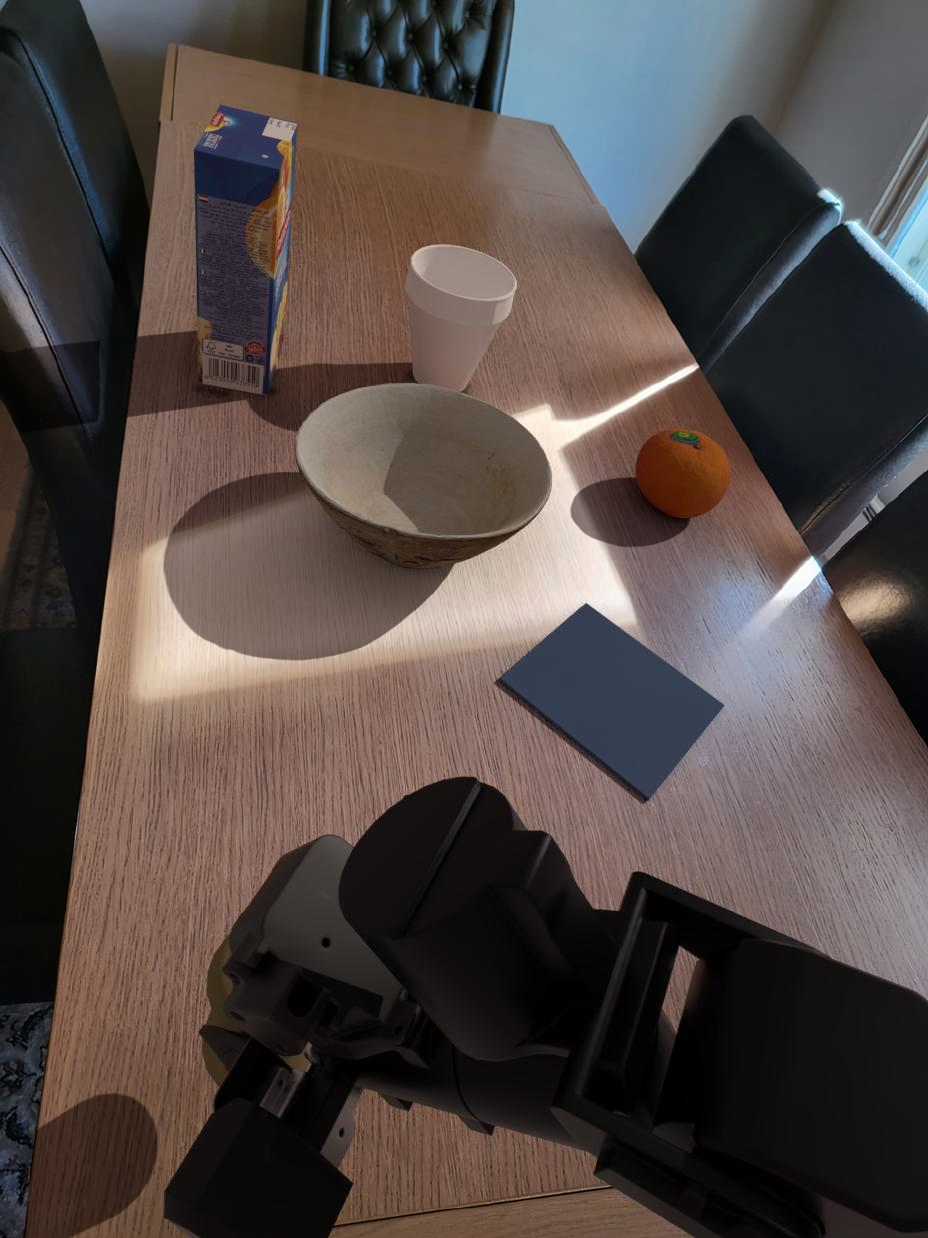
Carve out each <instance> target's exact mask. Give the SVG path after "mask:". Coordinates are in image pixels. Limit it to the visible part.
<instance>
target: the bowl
mask: <svg viewBox="0 0 928 1238" xmlns="http://www.w3.org/2000/svg"><path fill="white" fill-rule="evenodd" d="M293 448H294V449H293V451H294V457H295V462H296V466H297V468H298V471H299V474H300V476H301V478H302V479H303V481H304V483H305V485H306V487H307V488H308V490H309V491H310V493H311V494H312V496H313V497H314V498H315V499H316V500H317V502H318V503H319V504H320V505H321V507H322V508H323V509H324V510H325V512H326V513H327V514H328V515H329V516H330V518H332V519H333V520H334V522H335V523H336V524H337V525H338V526H339V528H341V529H342V530H343V531H344V532H345V533H346V534H347V535H348V536H349V537H351V538H352V539H353V540H354V541H356V542H357V543H358V544H360V545H361V546H362V547H363V548H365V549H366V550H368V551H369V552H371V553H372V554H374V555H376V556H377V557H379V558H381V559H382V560H385V561H387V562H389V563H391V564H393V565H396V566H400V567H405V568H409V569H411V568H412V569H434V568H440V567H442V568H443V567H445V566H451V565H455V564H459V563H462V562H465V561H467V560H470V559H472V558H473V559H474V558H475V557H477V556H479V555H481V554H483V553H486V552H488V551H490V550H492V549H494V548H496V547H498V546H499V545H501V544H503V543H504V542H506V541H508V540H509V539H511V538H512V537H513V536H515V535H517V534H518V533H519V532H521V531H522V530H524V529H525V528H526V527H528V525H529V524H531V523H532V521H534V519H535V518H536V517H538V515H539V514H540V513H541V511H543V509H544V507H545V506H546V504H547V502H548V501H549V499H550V495H551V492H552V488H553V471H552V466H551V465H550V461H549V459H548V457H547V454H546V452H545V449H544V448H543V446H542V445H541V443H540V442H539V440H538V439H537V438H536V436H535V435H533V434H532V432H531V431H530V430H528V428H526V427H525V426H524V425H523V424H522V423H520V421H518V420H517V419H516V418H514V416H512V415H511V414H509V413H507V412H506V411H505V410H503V409H502V408H499V407H497V406H495V405H493V404H491V403H489V402H487V401H484V400H483V399H480V398H479V397H478V398H477V397H475V396H472V395H469V394H466V393H463V392H462V391H461V392H458V391H455V390H451V389H447V388H444V387H440V386H435V385H431V384H424V383H418V382H397V383H392V382H391V383H389V382H386V383H380V384H376V385H368V386H365V387H359V388H355V389H351V390H350V391H346V392H345V391H344V392H342V393H340V394H338V395H336V396H333V397H331V398H329V399H327V400H325V401H323V402H322V403H321V404H319V406H318V407H317V408H316V409H314V410H312V411H311V412H310V414H308V415H307V417H306V418H305V420H304V421H303V422H302V424H301V425H300V427H299V428H298V430H297V432H296V437H295V440H294V447H293Z"/></svg>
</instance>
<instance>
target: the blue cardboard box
mask: <svg viewBox="0 0 928 1238" xmlns="http://www.w3.org/2000/svg"><path fill="white" fill-rule="evenodd" d="M297 139H298V122H296V121H295V122H294V121H290V120H288V119H287V120H286V119H282V118H278V117H273V116H270V115H265V114H261V113H257V112H253V111H249V110H244V109H241V108H236V107H232V106H228V105H224V104H219V106H218V108H217V109H216V111H215V112H214V114H213V116H212V118H211V120H210V121H209V123H208V125H207V126H206V128H205V130H204V131H203V133H202V134H201V137H200V138H199V140H198V142H197V143H196V145H195V146H194V148H193V173H194V175H193V177H194V178H193V179H194V225H195V226H194V227H195V269H196V270H195V271H196V272H195V273H196V319H197V361H198V362H197V367H198V369H197V371H198V384H203V385H208V386H213V387H219V388H223V389H228V390H229V389H230V390H234V391H241V392H246V393H249V394H250V393H251V394H257V395H260V396H261V395H263V396H267V397H268V396H269V393H270V390H271V386H272V383H273V380H274V376H275V372H276V369H277V365H278V361H279V358H280V354H281V352H282V347H283V344H284V340H285V327H286V326H285V325H286V312H287V294H288V279H289V264H290V263H289V262H290V247H291V231H292V217H293V202H294V201H293V200H294V187H295V186H294V185H295V170H296V169H295V168H296V156H297V155H296V154H297Z"/></svg>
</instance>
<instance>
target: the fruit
mask: <svg viewBox="0 0 928 1238" xmlns="http://www.w3.org/2000/svg"><path fill="white" fill-rule="evenodd" d="M731 476H732V473H731V466H730V462H729V458H728V457H727V454H726V452H725V451H724V449H723V448H722V447H721V446H720V445H719V443H717V442H716V441H714V440H713V439H711V438H710V437H709V436H707V435H705V434H703V433H702V432H699V431H696V430H692V429H691V430H690V429H681V428H668V429H664V430H661V431H659V432H657V433H655V434H653V435H652V436H650V437H649V438H648V439H647V440H646V441H645V442H644V443H643V445H642V446H641V447H640V450H639V452H638V454H637V458H636V463H635V478H636V483H637V486H638V488H639V490H640V492H641V493H642V495H643V496H644V497H645V498H646V500H647V501H648V502H649V503H650V504H651V505H653V506H654V507H655V508H657V509H658V510H660V511H662V512H663V513H665V514H667V515H669V516H671V517H673V518H678V519H679V518H680V519H689V518H696V517H700V516H702V515H704V514H706V513H708V512H710V511H711V510H713V509H714V508H716V507H717V506H718V505H719V504H720V503H721V501H722V500H723V499H724V497H725V496H726V494H727V492H728V489H729V486H730V482H731Z"/></svg>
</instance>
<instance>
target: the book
mask: <svg viewBox="0 0 928 1238" xmlns="http://www.w3.org/2000/svg"><path fill="white" fill-rule="evenodd" d="M498 681H499V682H500V683H501V684H502V685H504V686H505V687H506V688H507V689H509V690H510V691H511V692H512V693H513V694H515V695H516V696H518V698H519V699H521V700H522V701H523V702H524V703H526V704H527V705H528V706H529V707H531V708H532V709H533V710H535V711H536V712H537V713H538V714H539V715H541V716H542V717H543V718H544V719H546V720H547V721H548V722H549V723H551V724H552V725H553V726H554V727H556V729H558V730H559V731H560V732H562V733H563V735H565V736H567V738H569V739H570V740H572V741H573V742H574V743H575V744H577V745H578V746H579V747H580V748H582V749H583V750H584V751H585V752H587V754H589V755H590V756H591V757H593V758H594V759H595V760H596V761H597V762H599V763H600V764H601V765H603V767H605V768H606V769H608V770H609V771H610V772H611V773H612V774H614V775H615V776H616V777H617V778H619V779H620V780H621V781H622V782H624V783H625V784H626V785H627V786H629V787H630V788H631V789H632V790H634V791H635V792H636V793H637V794H638V795H640V796H641V797H642V798H643V799H645V800H646V801H647V802H648V801H650V799H651V798H652V797H653V795H655V793H656V792H657V791H658V789H659V788H660V787H661V786H662V784H663V783H664V782H665V781H666V779H668V777H669V776H670V775H671V773H672V772H673V771H674V770H675V768H676V767H678V765H679V763H680V762H681V761H682V760H683V758H684V757H685V756H686V755H687V753H688V752H689V751H690V750H691V748H692V747H693V746H694V745H695V744H696V742H697V741H698V740H699V738H700V737H701V736H702V734H703V733H704V732H705V731H706V729H707V728H708V727H709V725H711V723H712V722H713V721H714V719H715V718H716V717H717V716H718V715H719V713H720V712H721V711H722V709H723V708H724V707H725V704H724V703H723V702H721V701H720V700H719V699H717V698H716V697H715V696H714V695H712V694H711V693H709V692H708V691H707V690H705V689H704V688H702V687H701V686H699V684H697V683H695V682H694V681H693V680H692V679H690V678H689V677H688V676H686V675H685V674H683V673H682V672H680V671H679V670H678V669H677V668H675V667H674V666H672V665H671V664H670V663H669V662H667V661H666V660H665V659H664V658H662V657H661V656H659V655H658V654H656V652H654V651H653V650H651V649H649V648H648V647H647V646H645V645H644V644H643V643H641V642H640V641H639V640H637V639H636V638H635V637H633V636H632V635H631V634H630V633H628V632H627V631H625V630H624V629H623V628H621V627H620V626H618V625H617V624H616V623H614V622H613V621H612V620H610V618H608V617H606V616H605V615H604V614H602V613H601V612H600V611H598V610H596V609H595V608H594V607H593V606H591V605H590V604H589V603H587V602H585V603H584V604H583V605H582V606H581V607H579V608H578V609H577V610H576V611H575V612H574V613H572V614H571V615H570V616H569V617H568V618H567V619H566V620H564V621H563V622H562V623H561V624H560V625H559V626H558V627H557V628H555V629H554V630H553V631H552V632H550V634H549V635H547V636H546V637H545V638H543V640H541V641H540V642H539V643H538V644H537V645H536V646H535V647H533V648H532V649H531V650H530V651H529V652H528V653H527V654H526V655H524V656H523V657H522V658H521V659H520V660H519V661H518V662H516V663H515V664H514V665H513V666H511V667H510V668H509V669H508V670H507V671H506V672H505V673H503V674H502V675H501V676H500V677H499V679H498Z"/></svg>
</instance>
